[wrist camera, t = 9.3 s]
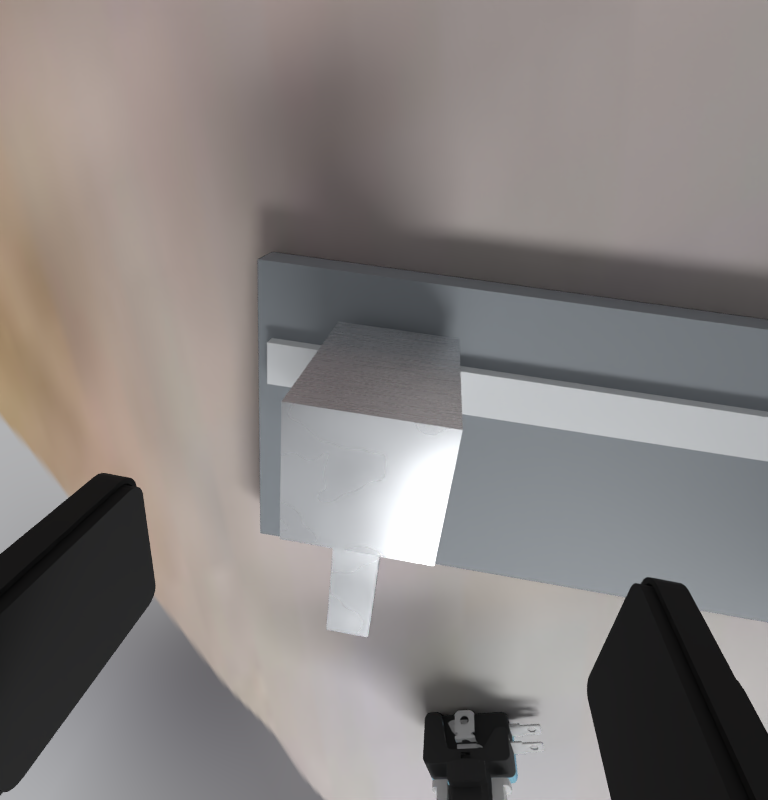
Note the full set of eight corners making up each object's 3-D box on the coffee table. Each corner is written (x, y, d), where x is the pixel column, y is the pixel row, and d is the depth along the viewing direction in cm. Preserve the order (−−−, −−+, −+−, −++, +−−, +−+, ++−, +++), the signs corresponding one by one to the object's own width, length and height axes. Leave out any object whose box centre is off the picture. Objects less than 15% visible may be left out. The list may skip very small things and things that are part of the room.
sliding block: (459, 335, 16) (462, 429, 10) (426, 510, 19) (415, 652, 14) (340, 319, 16) (281, 401, 11) (328, 493, 20) (278, 626, 14)
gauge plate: (1112, 366, 16) (1607, 519, 9) (895, 619, 21) (1101, 831, 14) (272, 251, 17) (160, 307, 11) (271, 511, 23) (197, 655, 16)
